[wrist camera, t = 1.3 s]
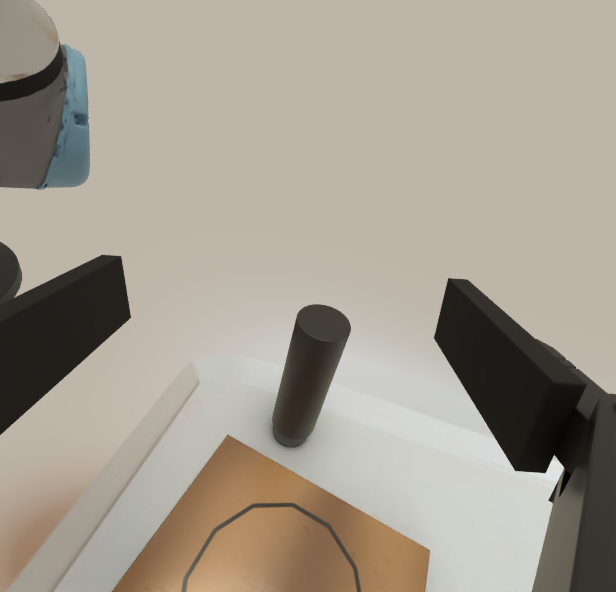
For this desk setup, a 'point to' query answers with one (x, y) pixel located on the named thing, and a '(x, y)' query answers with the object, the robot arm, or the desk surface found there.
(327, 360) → the dot marker
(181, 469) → the desk surface
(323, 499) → the paper sheet
